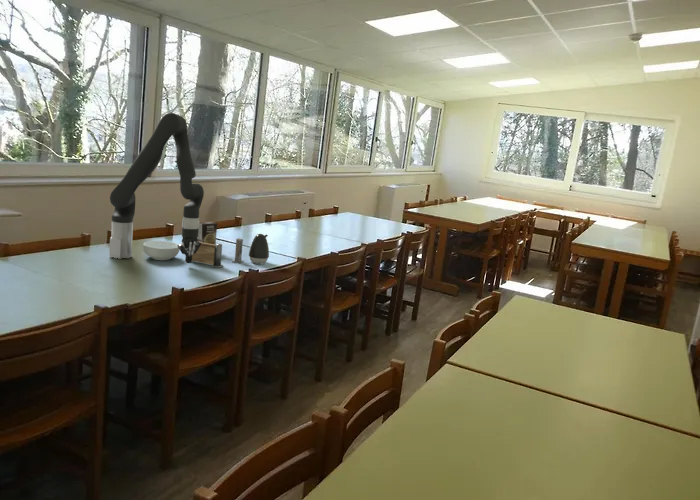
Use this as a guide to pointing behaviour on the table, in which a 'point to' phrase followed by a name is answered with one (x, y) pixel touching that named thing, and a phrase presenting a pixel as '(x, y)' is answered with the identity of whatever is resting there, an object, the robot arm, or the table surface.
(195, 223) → the robot arm
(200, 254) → the gate
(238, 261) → the post
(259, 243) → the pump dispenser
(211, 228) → the coffee box
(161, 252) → the cereal bowl
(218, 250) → the hinge post
